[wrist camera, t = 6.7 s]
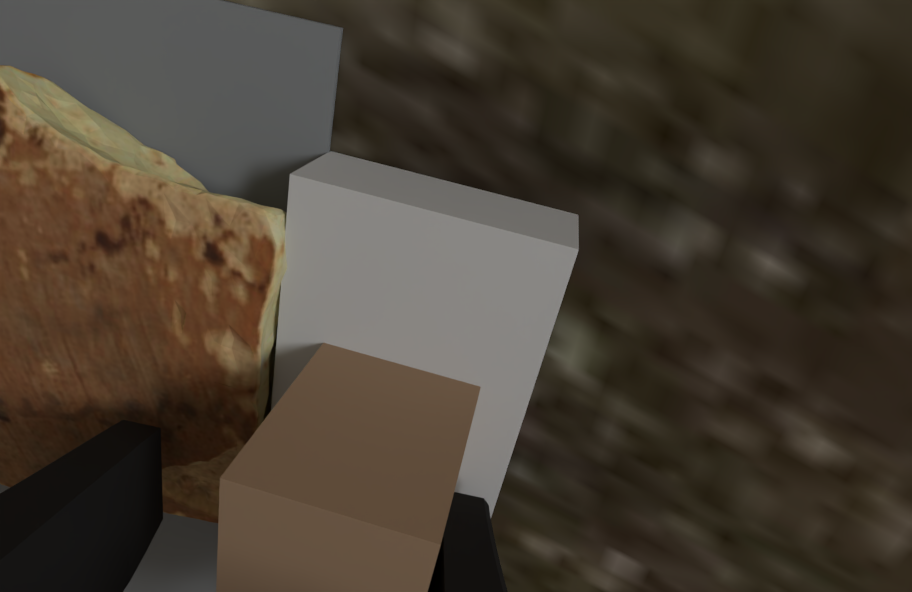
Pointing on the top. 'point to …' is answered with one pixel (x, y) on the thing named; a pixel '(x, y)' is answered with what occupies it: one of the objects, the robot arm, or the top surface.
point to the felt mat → (190, 131)
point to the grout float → (389, 375)
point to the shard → (127, 297)
